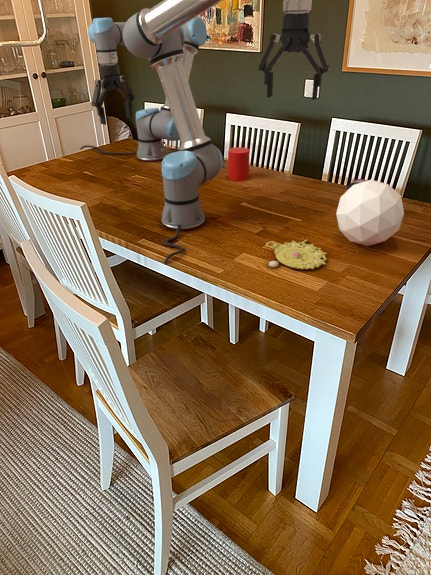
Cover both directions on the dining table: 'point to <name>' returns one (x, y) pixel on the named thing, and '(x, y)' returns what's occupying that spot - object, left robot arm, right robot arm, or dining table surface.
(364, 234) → the sphere
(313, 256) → the decorative object
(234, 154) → the canister
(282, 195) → the dining table surface
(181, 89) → the right robot arm
